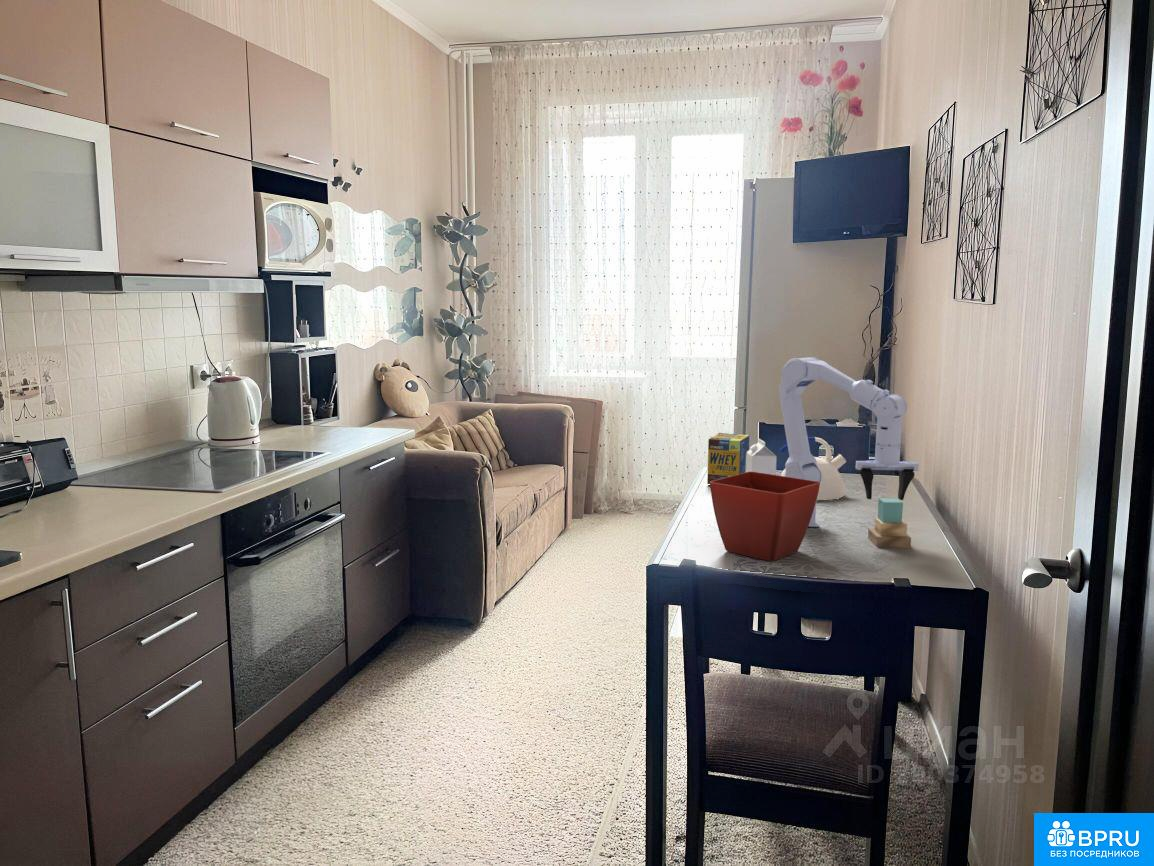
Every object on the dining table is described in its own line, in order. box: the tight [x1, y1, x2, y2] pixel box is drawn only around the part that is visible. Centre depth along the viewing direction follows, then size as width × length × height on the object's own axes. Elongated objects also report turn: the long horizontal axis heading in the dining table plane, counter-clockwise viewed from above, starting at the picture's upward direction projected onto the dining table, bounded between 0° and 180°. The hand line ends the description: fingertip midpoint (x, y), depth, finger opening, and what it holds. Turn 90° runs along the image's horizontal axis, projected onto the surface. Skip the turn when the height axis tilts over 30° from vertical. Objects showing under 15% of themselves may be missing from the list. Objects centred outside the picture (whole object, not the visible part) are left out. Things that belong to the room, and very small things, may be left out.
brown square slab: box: [867, 528, 912, 549], centre depth 208 cm, size 8×8×3 cm
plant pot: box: [709, 472, 820, 562], centre depth 199 cm, size 19×19×17 cm
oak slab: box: [874, 517, 908, 536], centre depth 208 cm, size 6×6×3 cm
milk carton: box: [746, 438, 778, 475], centre depth 248 cm, size 7×7×19 cm
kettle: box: [778, 436, 847, 500], centre depth 263 cm, size 20×21×18 cm
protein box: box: [706, 432, 750, 485], centre depth 280 cm, size 10×15×16 cm
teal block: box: [877, 497, 904, 523], centre depth 208 cm, size 4×4×5 cm
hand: (884, 498), depth 210 cm, fingers open, 7 cm apart
